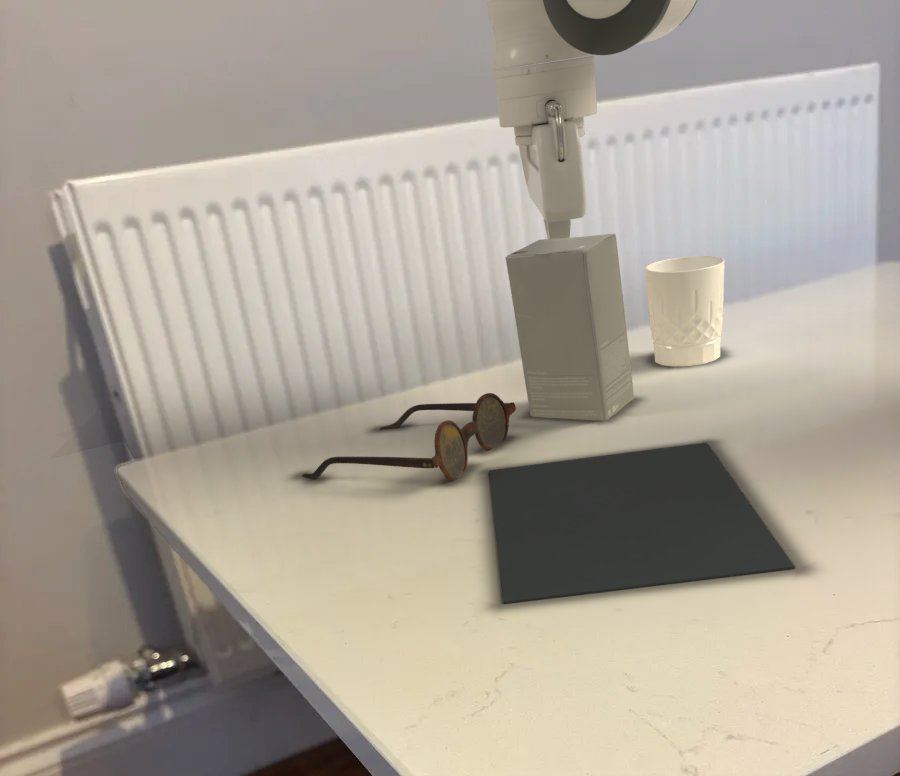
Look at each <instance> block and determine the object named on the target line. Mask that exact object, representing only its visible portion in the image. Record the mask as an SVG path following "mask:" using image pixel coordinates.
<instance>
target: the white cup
mask: <svg viewBox="0 0 900 776" xmlns="http://www.w3.org/2000/svg"><path fill="white" fill-rule="evenodd" d="M725 263H726V260H725V258H723V257H720V256H716V255H689V256H681V257H673V258H667V259H662V260H658V261H655V262H652V263H649V264H647V265H646V266H645V267H644V274H645V284H646V295H647V296H646V297H647V307H648V308H647V310H648V314H649V327H650V332H651V339H652V344H653V352H654V363H656V364H659V365H660V366H666V367H693V366H698V365H704V364H707V363H711V362H714V361H716V360H717V359H718V358H720V357H721V339H722V338H721V335H722V332H723V320H724V298H725V297H724V295H725V294H724V293H725V266H726V264H725Z"/></svg>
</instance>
